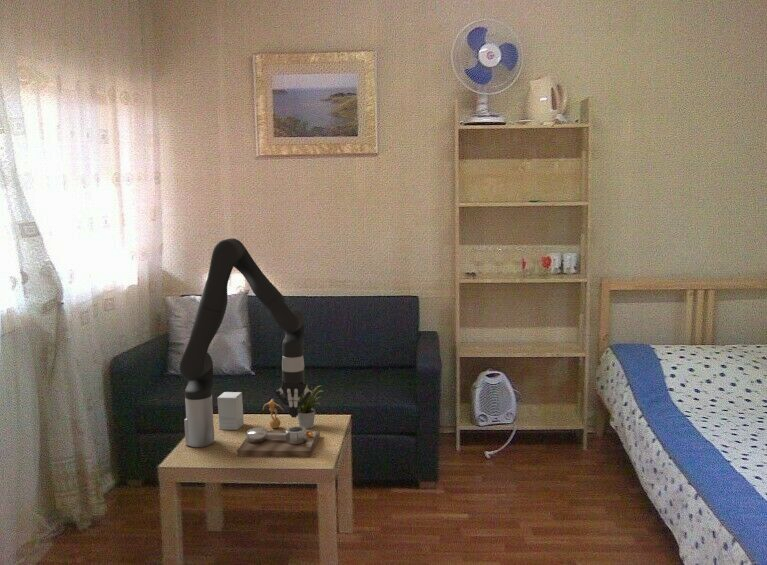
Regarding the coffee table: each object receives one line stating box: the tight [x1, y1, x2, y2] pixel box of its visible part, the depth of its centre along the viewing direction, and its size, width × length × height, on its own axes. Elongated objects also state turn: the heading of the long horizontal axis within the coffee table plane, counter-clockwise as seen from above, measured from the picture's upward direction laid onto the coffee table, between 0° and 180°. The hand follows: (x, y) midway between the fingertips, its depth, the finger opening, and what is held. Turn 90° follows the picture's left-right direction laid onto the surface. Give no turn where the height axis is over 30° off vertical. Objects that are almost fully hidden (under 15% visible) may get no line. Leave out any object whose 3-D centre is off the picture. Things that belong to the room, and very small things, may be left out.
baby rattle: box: [246, 425, 313, 444], centre depth 248 cm, size 24×7×4 cm, turn 83°
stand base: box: [236, 430, 321, 458], centre depth 249 cm, size 25×19×3 cm
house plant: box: [296, 384, 323, 430], centre depth 267 cm, size 14×14×16 cm
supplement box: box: [216, 391, 245, 431], centre depth 269 cm, size 7×7×13 cm
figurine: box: [262, 398, 285, 429], centre depth 265 cm, size 8×6×12 cm
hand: (294, 416), depth 246 cm, fingers closed
